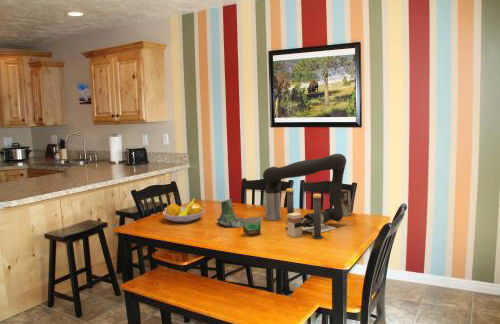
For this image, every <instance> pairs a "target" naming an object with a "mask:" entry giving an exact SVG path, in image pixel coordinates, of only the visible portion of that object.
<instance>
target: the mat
mask: <svg viewBox="0 0 500 324" xmlns="http://www.w3.org/2000/svg"><path fill="white" fill-rule="evenodd" d="M336 229H337V227H334V226H331V225H327V224H325V223H323V224H321V234H322V232H323V233H325V232H329V231H333V230H334V231H335V230H336ZM302 231H304V232H307V231H308V232H307V233H310V232H311V234H313V233H314V226H313V227H305V228H304V227H302Z"/></svg>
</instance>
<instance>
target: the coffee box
mask: <svg viewBox="0 0 500 324" xmlns="http://www.w3.org/2000/svg"><path fill="white" fill-rule="evenodd" d="M341 204H342V209H343V217H350V216H351V213H352V208H351V206H352V204H351V189H350V190H349V189H342V195H341ZM349 215H350V216H349Z"/></svg>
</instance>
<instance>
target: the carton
mask: <svg viewBox="0 0 500 324" xmlns="http://www.w3.org/2000/svg"><path fill="white" fill-rule="evenodd" d="M286 216H287V217H286V221H287V222H288V225H287V227H288V230H287V236H288V235H289V237H291V236H292V237H291V238H294V237H295V238H298V237H302V236H303V230H302V228H303V227H297V228H295V227H294V224H295V223H300V222H302V216H303V215H302V213H300V212H294V213H290V214H287V213H286ZM287 222H286V223H287Z"/></svg>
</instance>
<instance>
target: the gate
mask: <svg viewBox="0 0 500 324" xmlns="http://www.w3.org/2000/svg"><path fill="white" fill-rule="evenodd" d="M294 190H295V189H294V188H286V189H285V191H286V202H287V203H286V205H287V206H286V207H287V208H286V210H287V213H286V215H287V214H290V213H295V211H294V207H295V206H294V204H295V203H294V192H295V191H294ZM312 197H313V213H314V234H313V235H312V236H311V239H313V238H314V239H313V240H323V239H324V235H322V233H321V211H322V207H321V206H322V205H321V200H322V199H321V198H322V194H321V193H313V194H312ZM285 230H286V231H288V226H286V227H285ZM322 238H323V239H322Z"/></svg>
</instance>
